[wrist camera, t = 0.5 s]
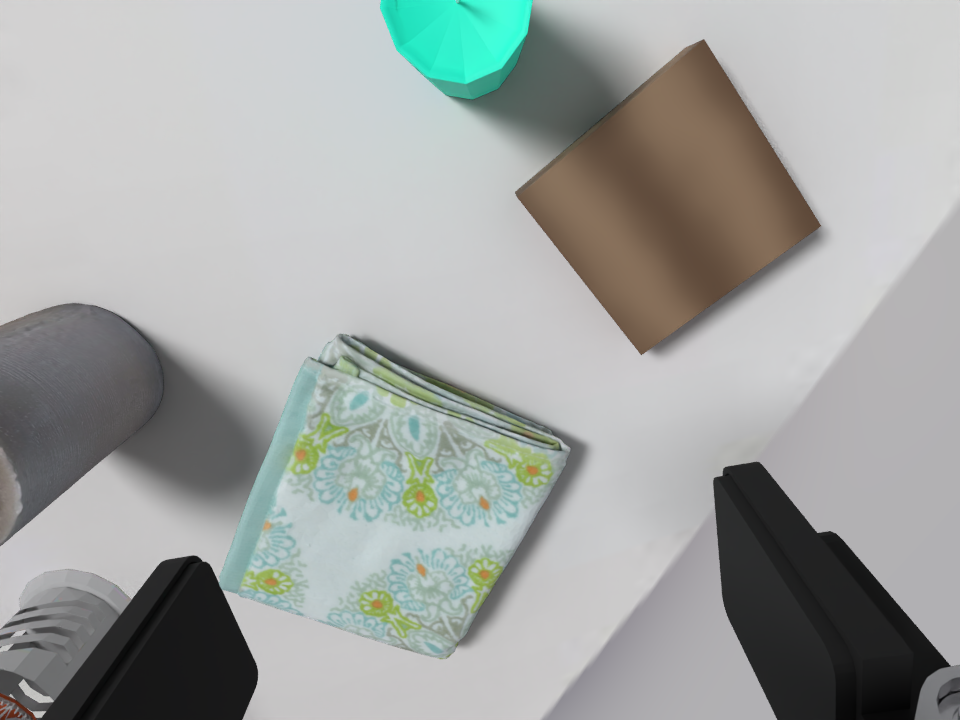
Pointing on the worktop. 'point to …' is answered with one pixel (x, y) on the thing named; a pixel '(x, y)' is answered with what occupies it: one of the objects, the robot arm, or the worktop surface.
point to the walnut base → (669, 199)
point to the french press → (54, 636)
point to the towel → (388, 501)
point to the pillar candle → (67, 402)
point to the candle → (459, 40)
